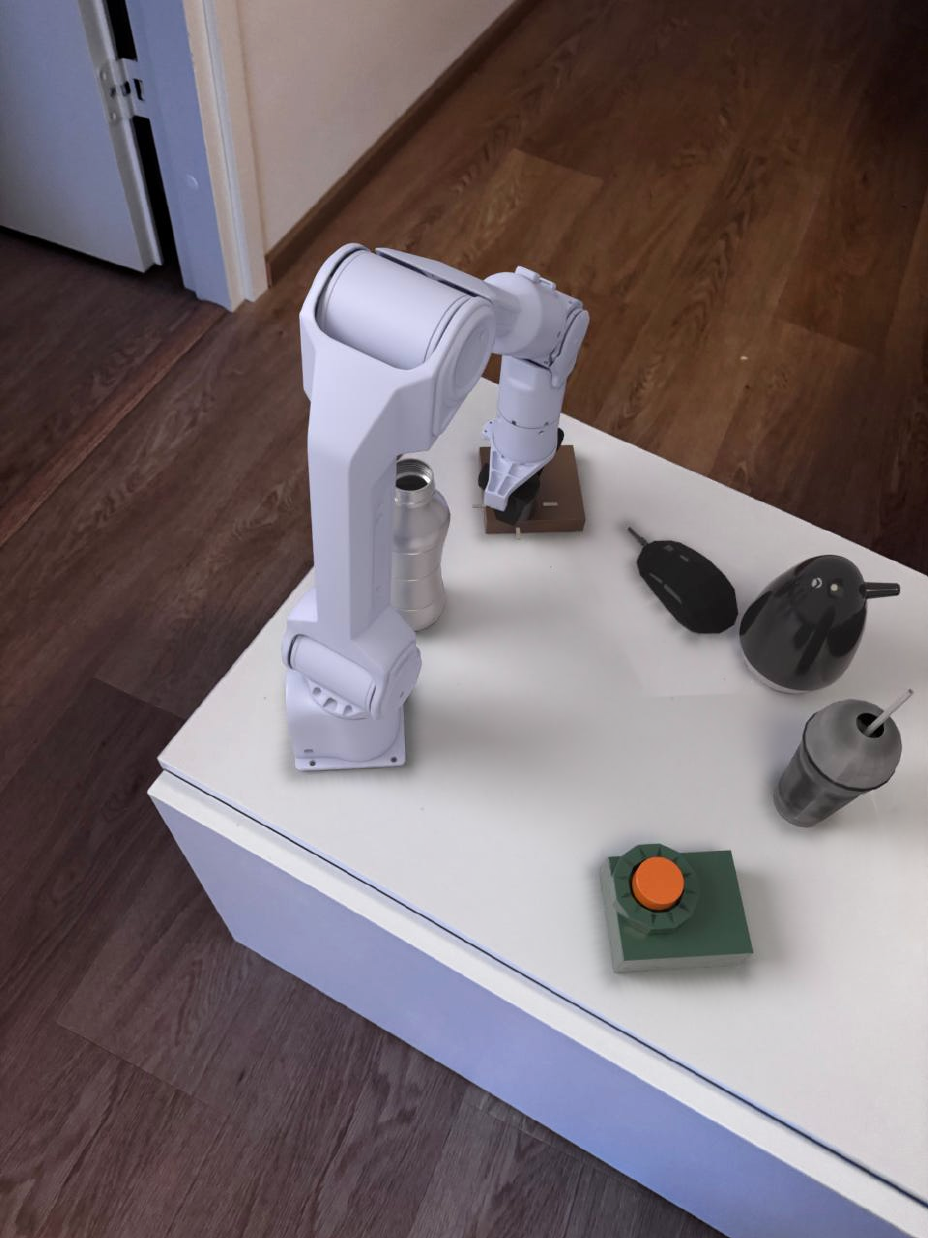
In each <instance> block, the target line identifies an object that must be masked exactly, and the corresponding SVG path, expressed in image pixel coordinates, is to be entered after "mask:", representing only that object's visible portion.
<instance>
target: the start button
mask: <svg viewBox="0 0 928 1238" xmlns="http://www.w3.org/2000/svg"><path fill="white" fill-rule="evenodd" d="M632 888H633V892H634V895H635V897H636V898H637V900H638V901H639V902H640V903H641V904H642V905H644V906H645V907H647V908H649V909H653V910H664V909H667V908H669V907H670V906H672V905H673V904H674V903H675V902H676V900H677V899H678V898H679V897H680V895H681V893H682V891H683V888H684V879H683V875H682V873H681V871H680V869H679V868H678V867H677V866H676V865H675V864H674V863H673V862H672V861H670V860H668V859H666V858H663V857H652V858H649V859H647V860H645V861H644V862H642V863H641V865H640V866H639V868H638V869H637V871H636V872H635V874H634V876H633V880H632Z"/></svg>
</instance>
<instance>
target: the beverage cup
mask: <svg viewBox="0 0 928 1238" xmlns="http://www.w3.org/2000/svg"><path fill="white" fill-rule="evenodd" d="M914 694H915V690H914V689H913V688H907V690H906V691H905V692H903V693H902V694H901V695H900V696H899V697H897V699H896V700H895V701H894V702H893V703H892V704H891V705H890V706H889V707H887V708H886V709H885V710H884V709H883V708H881V707H880V706H878V705H877V704H874V703H872V702H869V701H866V700H861V699H855V698H854V699H853V698H849V699H842V700H837V701H834V702H832V703H830V704H828V705H826V706H824V707H823V708H821V709H820V710H817V711H815V712H814V713H812V715H811V716H810V717H809V719H808V720H806V722H805V725H804V729H803V731H802V737H801V740H800V743H799V745H798V747H797V749H796V750H795V752H794V754H793V756H792V757H791V758H790V761H789V763H788V764H787V766H786V768H785V770H784V771H783V773H782V775H781V777H780V779H779V780H778V784H777V785H776V788H775V790H774V793H773V804H774V807H775V810H776V811H777V813H778V814H779V816H780V817H781V819H783V820H785V821H786V822H787V823H788V824H790V825H792V826H795V827H798V828H809V827H810V828H811V827H814V826H816V825H817V824H819V823H821V822H823V821H825V820H826V819H828V818H829V817H831V816H832V815H834V814H835V813H837V812H838V811H840V810H841V809H843V808H844V807H845V806H847V805H848V804H850V803H851V802H853V801H855V800H856V799H857V798H858V797H860V796H863V795H865V794H867V793H871V792H872V791H876V790H878V789H880V788H881V787H883V786H884V785H887V784H888V783H889V781H890V780H891V779H892V778H893V776H894V775H895V773H896V769H897V768H898V766H899V763H900V761H901V756H902V751H903V742H902V736H901V732H900V730H899V727H898V726H897V723H896V721H895V720H894V719H893V718H892V717H891V716H892V715H893V714H894V713H895V712H896V711H897V710H899V708H900V707H902V706H903V704H905V703H906V702H907V701H908V700H909V699H910V698H911V697H912V696H913V695H914Z"/></svg>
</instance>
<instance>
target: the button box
mask: <svg viewBox="0 0 928 1238" xmlns="http://www.w3.org/2000/svg"><path fill="white" fill-rule="evenodd" d="M652 857H663V858H666V859H668V860H670V861H672V862H673V863H674V864H675V865H676V866H677V867H678V868H679V869H680V871H681V873H682V875H683V879H684V888H683V891H682V893H681V895H680V897H679V898H678V899H677V900H676V902H675V903H674V904H673V905H672V906H670V907H669V908H667V909H664V910H653V909H649V908H647V907H645V906H644V905H642V904H641V903H640V902H639V901H638V900H637V898H636V897H635V895H634V892H633V888H632V880H633V876H634V874H635V872H636V871H637V869H638V868H639V866H640V865H641V863H642V862H644V861H645V860H647V859H649V858H652ZM599 880H600V887H601V894H602V901H603V902H602V903H603V908H604V915H605V922H606V929H607V935H608V944H609V951H610V956H611V963H612V971H613V974H620V973H622V974H623V973H638V972H639V973H640V972H654V971H671V970H672V971H673V970H685V969H686V970H687V969H702V968H718V967H733V966H734V967H736V966H739V965H740V964H742V963H743V962H744V961H745V960H747V958H749V957H750V956H752V954H754V949H753V945H752V940H751V939H752V938H751V935H750V930H749V926H748V921H747V916H746V914H745V908H744V903H743V898H742V894H741V890H740V886H739V882H738V880H739V879H738V876H737V872H736V867H735V862H734V857H733V852H732V850H731V849H727V850H726V849H725V850H709V851H689V852H687V851H686V852H679V851H677V850H674V849H673V848H671V847H668V846H666V845H664V844H662V843H643V844H641V843H640V844H637V845H635V846H634V847H633V848H631V849H629V850H628V851H627V852H625V853H624V854H622V855H615V856H607V858H606V859H605V861H604V863H603V865H602V867H601V870H600V871H599Z"/></svg>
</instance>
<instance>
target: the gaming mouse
mask: <svg viewBox="0 0 928 1238" xmlns="http://www.w3.org/2000/svg"><path fill="white" fill-rule="evenodd" d="M627 531H628V532H629V533H630V534H631V535H632V536H633V537H634V538H635V539H636V540H637V542H638V543H639V544H640V545H641V546H643V547H642V548H641V550H640V553H639V555H638V557H637V559H636V565H637V570H638V573H639V575H640V577H641V578H642V579H643V581H644V582H645V583H646V585H647V586H648V587H649V588H650V590H651V591H652V592H653V593H654V595H655V596H656V597H657V599H659V600H660V602H661V603H662V604H663V606H664V607H665V609H667V611H668V612H669V614H670V615H671V616H672V617H673V618H674V619H675V620H676V621H677V623H679V624H681V625H682V626H683V627H685V628H686V629H687V630H689V631H690V632H692V633H695V634H699V635H703V634H704V635H720V634H721V633H723V632H725V631H727V630H729V629H730V628H732V627H733V626H735V624H736V622H737V619H738V617H739V608H738V607H739V606H738V601H737V594H736V589H735V588H734V586H733V584H732V583H731V582H730V580H729V578H728V577H727V576H726V575H725V573H724V572H723V571H722V570H721V569H720V568H718V566H716V564H715V563H713V562H712V561H711V560H710V559H709V558H707V557H706V556H704V555H703V554H702V553H700V552H698V551H697V550H695V549H694V548H692V547H690V546H688V545H686V544H684V543H682V542H680V541H675V540H671V539H667V540H662V539H661V540H653V541H651V542H648V541H647V540H646V539H645V537H643V536H641V535H640V534H638V533H637V532H636V531H635V530H634V529H633V528H632V527H631V526H629V527H628V528H627Z"/></svg>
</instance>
